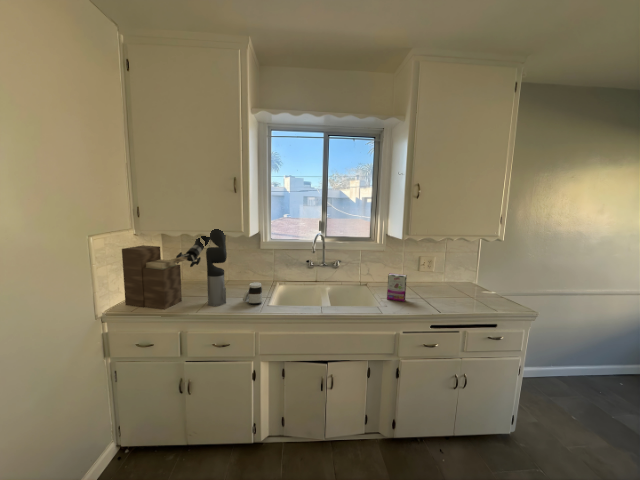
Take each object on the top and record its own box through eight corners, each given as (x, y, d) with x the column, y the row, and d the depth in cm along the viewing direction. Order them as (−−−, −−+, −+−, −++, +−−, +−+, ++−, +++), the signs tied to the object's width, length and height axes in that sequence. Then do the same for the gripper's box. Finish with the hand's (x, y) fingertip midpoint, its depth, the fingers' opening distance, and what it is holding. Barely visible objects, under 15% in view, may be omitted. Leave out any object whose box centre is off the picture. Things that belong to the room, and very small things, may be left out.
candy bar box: (405, 299, 170) (407, 274, 168) (404, 302, 166) (406, 276, 163) (387, 297, 174) (389, 272, 172) (386, 299, 170) (388, 274, 168)
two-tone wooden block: (145, 297, 161) (142, 245, 157) (181, 301, 157) (179, 247, 152) (125, 305, 148) (121, 248, 144) (164, 309, 143) (161, 251, 139)
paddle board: (177, 259, 168) (177, 255, 167) (191, 260, 166) (191, 256, 165) (146, 267, 144) (145, 262, 144) (161, 268, 142) (161, 264, 142)
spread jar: (261, 306, 153) (261, 286, 151) (241, 306, 151) (241, 286, 150) (262, 298, 165) (262, 280, 163) (244, 299, 163) (243, 280, 161)
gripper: (184, 245, 184) (173, 256, 170) (205, 250, 186) (195, 262, 172) (183, 254, 187) (172, 266, 173) (203, 259, 189) (194, 271, 175)
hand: (184, 264), depth 172 cm, fingers open, 8 cm apart
